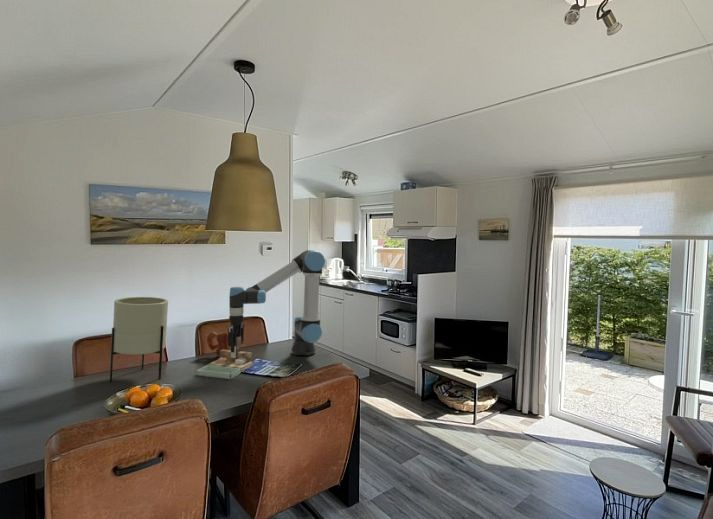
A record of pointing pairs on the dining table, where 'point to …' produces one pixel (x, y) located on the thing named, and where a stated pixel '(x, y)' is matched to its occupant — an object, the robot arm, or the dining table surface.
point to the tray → (218, 372)
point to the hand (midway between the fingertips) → (235, 356)
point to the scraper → (237, 352)
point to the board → (233, 364)
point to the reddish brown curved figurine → (222, 342)
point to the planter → (139, 327)
